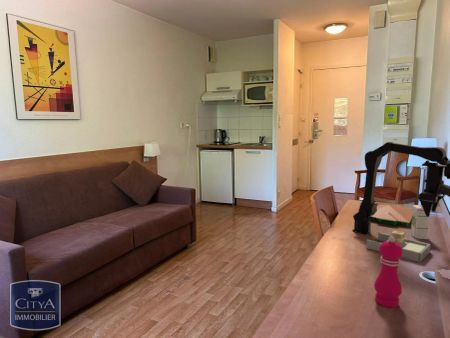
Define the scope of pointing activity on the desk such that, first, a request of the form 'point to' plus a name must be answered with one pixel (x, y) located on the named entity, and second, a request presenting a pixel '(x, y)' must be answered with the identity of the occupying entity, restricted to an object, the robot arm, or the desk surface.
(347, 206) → the desk surface
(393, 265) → the pepper mill
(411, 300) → the desk surface
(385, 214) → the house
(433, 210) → the robot arm
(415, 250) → the tray
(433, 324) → the desk surface
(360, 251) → the desk surface
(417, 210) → the syrup box
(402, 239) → the wooden cube
